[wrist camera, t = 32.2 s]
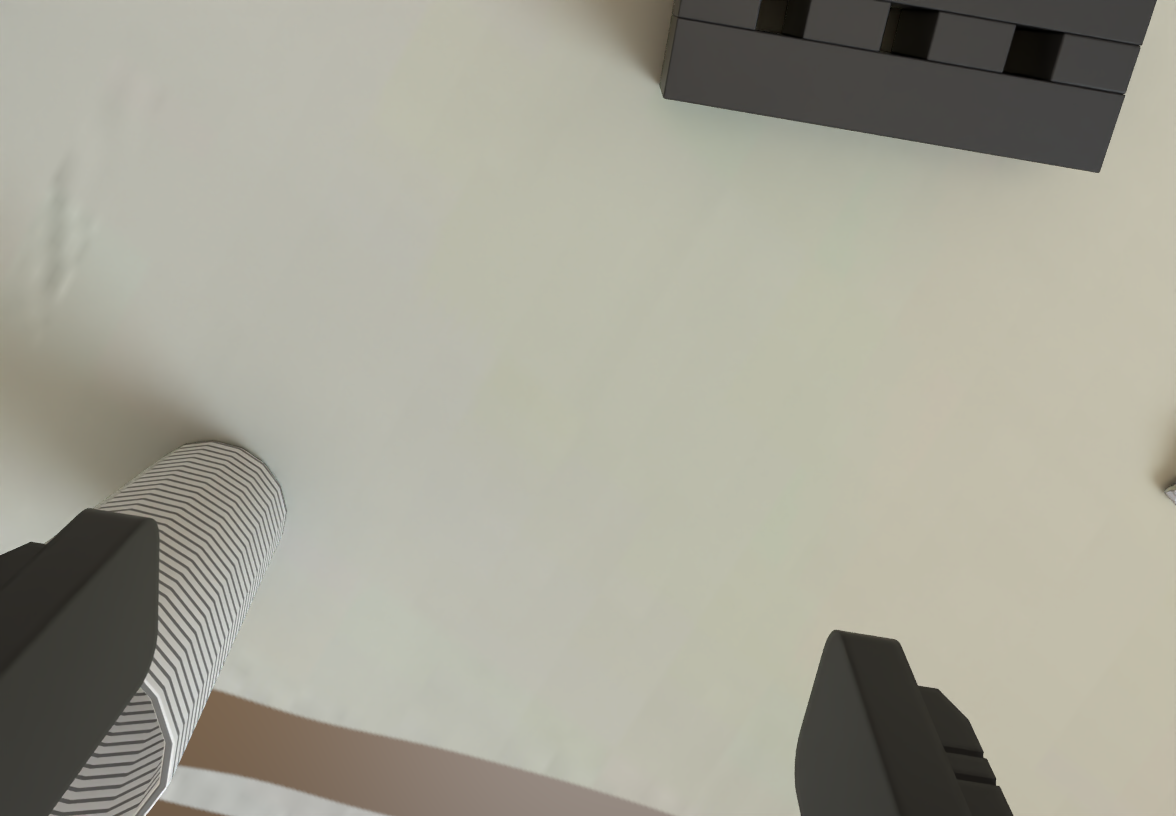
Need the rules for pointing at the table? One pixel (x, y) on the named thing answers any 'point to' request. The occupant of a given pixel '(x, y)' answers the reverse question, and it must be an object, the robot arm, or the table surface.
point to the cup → (183, 613)
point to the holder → (921, 69)
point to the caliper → (1171, 492)
